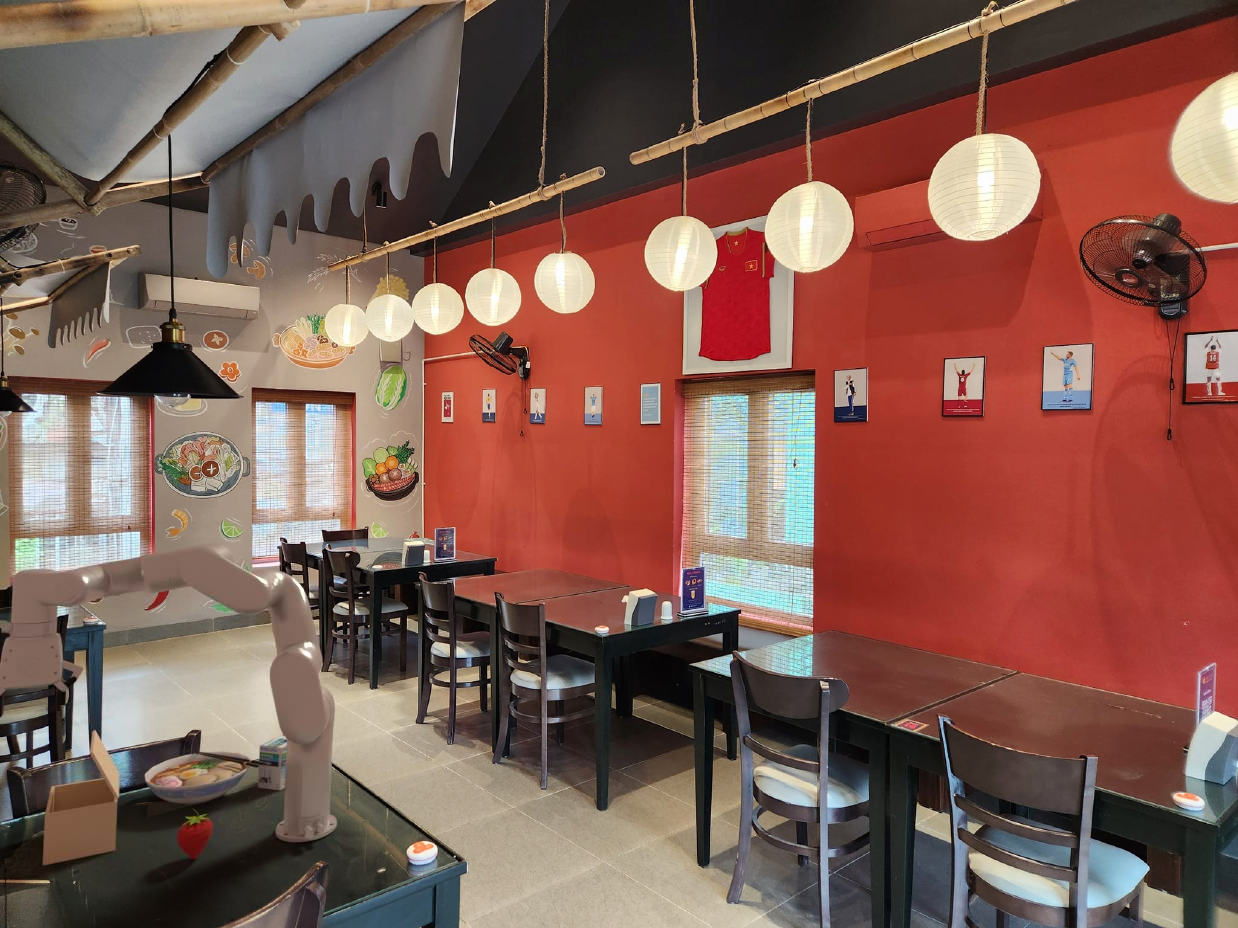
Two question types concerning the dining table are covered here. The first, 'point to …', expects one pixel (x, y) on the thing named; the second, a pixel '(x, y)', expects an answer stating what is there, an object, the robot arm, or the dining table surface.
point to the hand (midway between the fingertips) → (30, 712)
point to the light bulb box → (273, 764)
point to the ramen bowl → (198, 776)
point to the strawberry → (194, 835)
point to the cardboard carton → (79, 821)
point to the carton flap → (105, 764)
